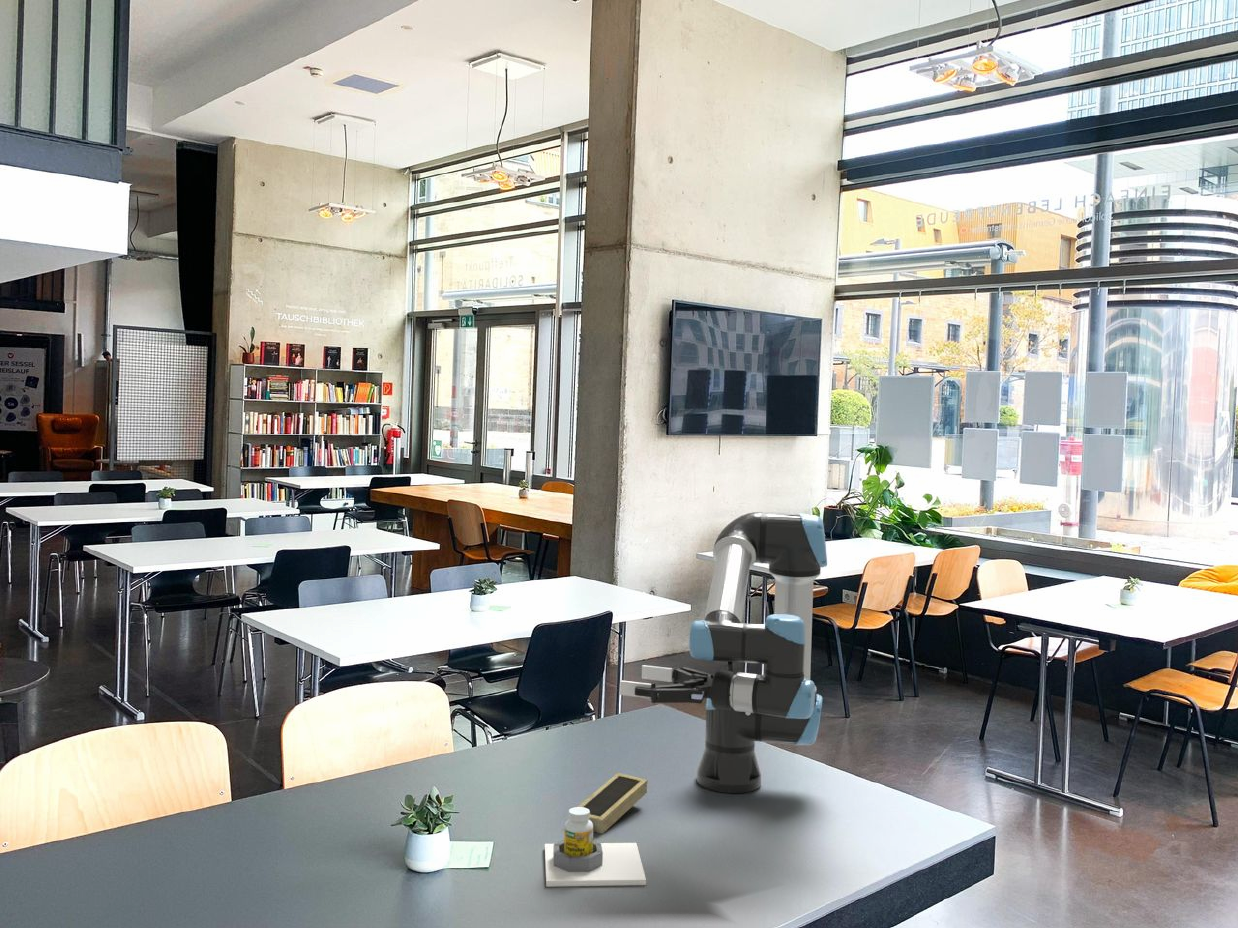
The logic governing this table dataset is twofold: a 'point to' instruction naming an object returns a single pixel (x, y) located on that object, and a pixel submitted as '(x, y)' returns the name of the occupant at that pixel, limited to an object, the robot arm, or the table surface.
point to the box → (614, 800)
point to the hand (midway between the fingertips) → (631, 679)
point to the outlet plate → (604, 875)
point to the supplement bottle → (578, 833)
